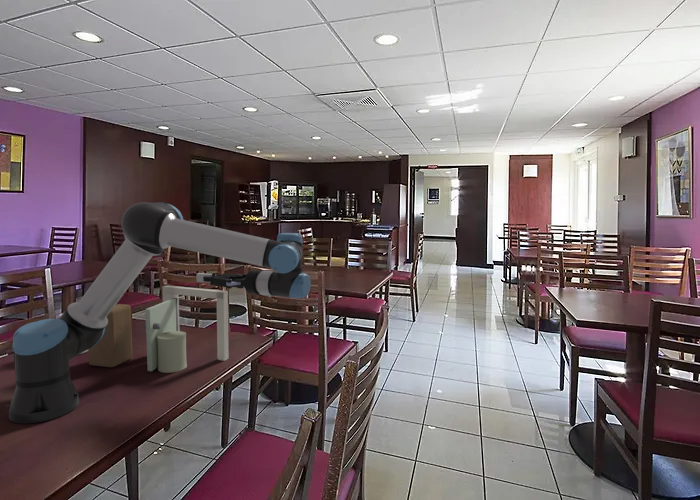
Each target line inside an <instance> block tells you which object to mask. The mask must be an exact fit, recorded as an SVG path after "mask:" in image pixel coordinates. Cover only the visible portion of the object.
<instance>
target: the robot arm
mask: <svg viewBox="0 0 700 500" xmlns="http://www.w3.org/2000/svg"><path fill="white" fill-rule="evenodd" d="M120 224H121V230H122V232H123V236H124V241H123V243H122V244H121V245H120V246H119V248H118V249H117V250H116V252H115V253H114V254H113V255H112V256H111V258H110V260H109V261H108V263H106V265H105V266H104V267H103V269H102V270H101V272H100V273H99V274H98V276H97V277H96V279H94V281H93V282H92V284H91V285H90V286H89V288H88V289H87V290H86V291H85V293H84V295H83V296H82V297H81V298H80V299H79V301H77V302H72V303H70V304H69V305H68V306H67V308H66V309H65V310H64V312H63V314H62V313H61V314H62V315H61V317H60V318H59V317H58V318H45V319H40V320H37V321H32V322H28V323H26V324H24V325H22V326H20V327H19V328H17V330H15V332H14V334H13V336H12V344H11V348H12V352H13V364H14V365H13V366H14V376H15V389H14V392H13V395H12V398H11V402H10V405H9V408H8V419H9V421H11V422H12V423H16V424H21V425H22V424H25V425H26V424H36V423H42V422H47V421H50V420H53V419H56V418H60V417H62V416H64V415H67V414H69V413H70V412H71V411H74V410H75V409H77V407H78V406H79V404H80V397H79V393H78V390H77V388H76V386H75V385H74V383H73V381H72V379H71V378H72V377H71V373H70V360H72V359H73V358H75V357H77V356H79V355H81V354H80V353H82V352H84V351H86V350H88V349H90V348H92V347H93V346H95V345H96V344H97V343H98V342H99V341H100V339H101V338H102V336H103V334H104V331H105V327H106V325H107V324H108V319H107V315H108V314H109V313H110V311H111V310H112V309H113V307H114V306H115V305H116V304H118V302H120V300H121V298H122V297H123V296H124V294H125V293H127V292H126V291H127V290H128V289H129V288H130V286H131V285H132V284H133V283H134V281H135V280H136V278H137V277H138V276H139V274H140V273H141V272H142V271H143V269H144V268H145V267H146V266H147V264H148V262H149V261H150V260H151V259H152V257H156V256H160V255H162V253H163V252H164V250H165V249H168V248H169V247H173V248H176V249H180V250H181V249H182V250H186V251H191V252H195V253H199V254H200V253H201V254H205V255H209V256H214V257H218V258H223V259H227V260H233V261H236V262H240V263H245V264H246V263H247V264H250V265H255V266H260V267H263V268H267V269H272V270H261V269H260V270H259V269H251V270H249V271H248V272H247V273H243V274H242V273H218V274H217V273H215V272H213V273H202V272H198V273H196V282H197V283H205V284H206V283H207V284H210V286H217V287H222V288H226V289H228V290H229V289H232V288H236V289H245V291H246V293H247V294H250V295H257V296H260V295H262V296H267V297H268V298H272V296H273V297H279V298H281V297H282V298H289V299H305V298H306V297H307V296H308V295H309V294H310V292H311V291H310V290H311V286H312V282H311V277H310V275H309V274H307V273H304V272H303V246H304V244H303V236H302V234H301V233H297V232H281V233H278V234H277V236H276V237H277V238H276V240H274V239H273V240H272V239H269V238H265V237H260V236H255V235H251V234H246V233H242V232H239V231H234V230H229V229H224V228H221V227H216V226H211V225H207V224H203V223H199V222H198V223H197V222H194V221H191V220H186V219H184V217H183V215H182V212H181V211H180V210H179V209H178V208H177V207H175V206H174V205H172V204H170V203H166V202H163V201H162V202H161V201H158V202H148V201H144V202H142V201H141V202H138V203H134V204H132V205H130V206H129V207H127V208H126V210H125V211H124V212H123V215H122V216H121V223H120ZM82 354H83V353H82Z"/></svg>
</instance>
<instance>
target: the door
mask: <svg viewBox="0 0 700 500" xmlns="http://www.w3.org/2000/svg"><path fill="white" fill-rule="evenodd" d="M143 328H144V329H145V334H146V360H147V367H146V368H147V372H153V371H154V370H156V369H158V342H157V336H158V335H159V334H161V333H164V332H170V331H178V301H177V298H172V299H170V300H167V301H165V302H163V301H162V302H160V303H158V304H155V305H153V306H150V307H147V308H145V322H144V324H143Z"/></svg>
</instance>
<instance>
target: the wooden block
mask: <svg viewBox="0 0 700 500" xmlns="http://www.w3.org/2000/svg"><path fill="white" fill-rule="evenodd" d="M131 308H132V306H131V305H130V304H123V303H117V304H116V305H115V306H114V307H113V309H112V310H111V311H110V313H109V314H108V315H107V319H108V324H107V325H106V327H105V331H104V334H103V336H102V338H101V339H100V341H99V342H98V343H97V344H96V345H95V346H93V347H92V348H90V349H88V351H87V353H88V364H89V365H90V366H95V367H96V366H97V367H105V368H115V367H117V366H119V365H121V364H123V363H125V362H127V361H129V360H131V359H133V337H132V336H133V334H132V332H133V331H132V309H131Z"/></svg>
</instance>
